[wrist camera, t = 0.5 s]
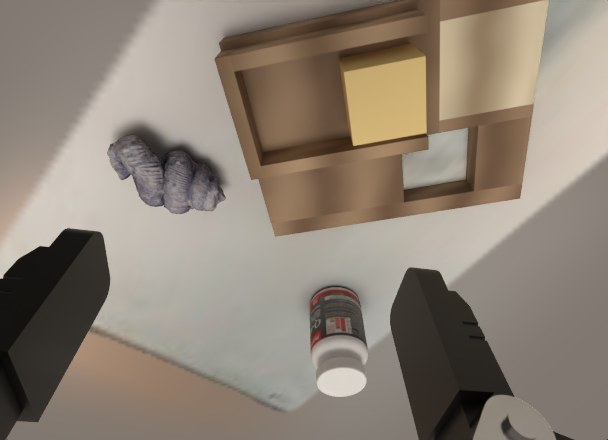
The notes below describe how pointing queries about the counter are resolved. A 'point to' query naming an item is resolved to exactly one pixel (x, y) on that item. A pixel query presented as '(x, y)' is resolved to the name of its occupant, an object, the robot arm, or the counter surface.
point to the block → (385, 93)
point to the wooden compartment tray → (439, 111)
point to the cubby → (303, 47)
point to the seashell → (165, 177)
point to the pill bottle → (338, 342)
